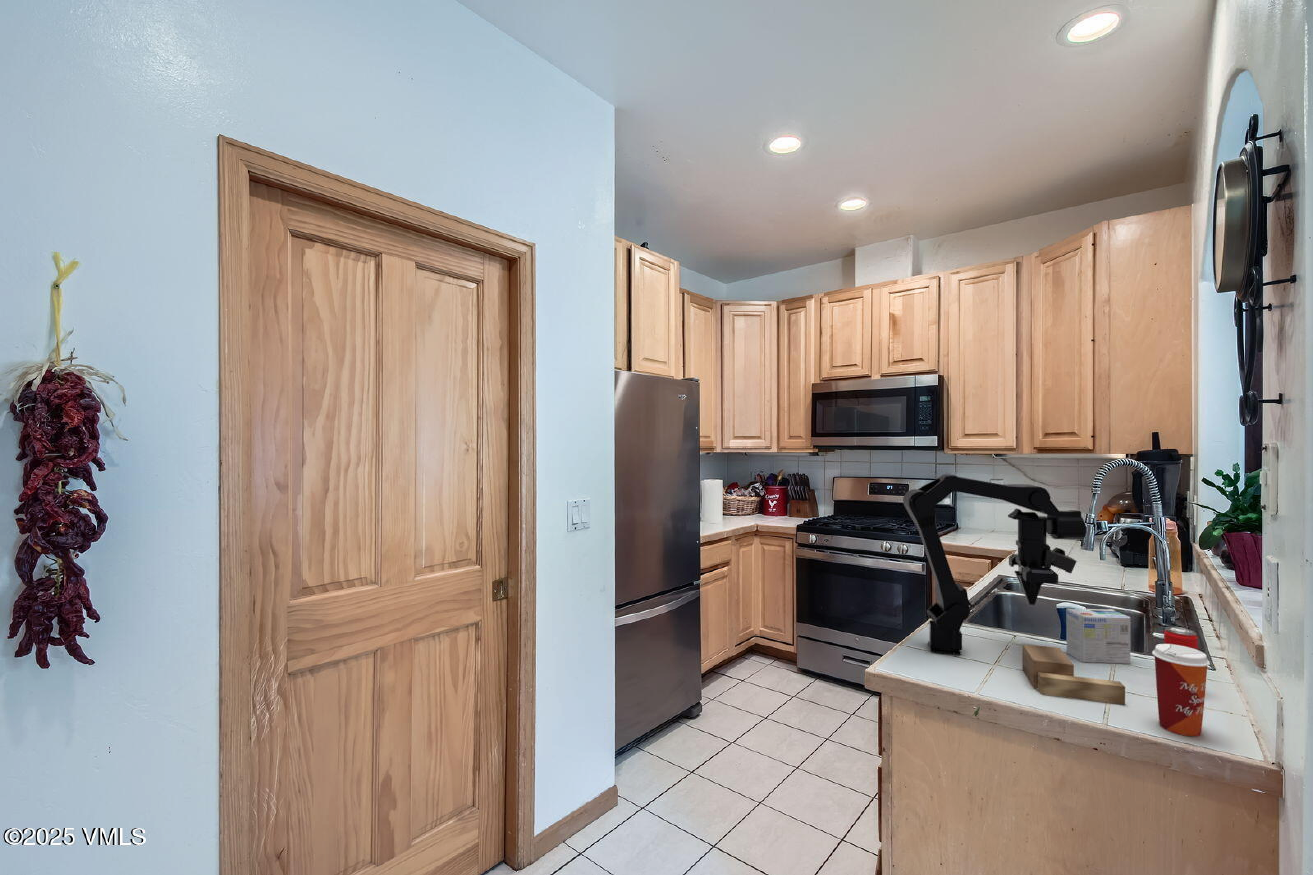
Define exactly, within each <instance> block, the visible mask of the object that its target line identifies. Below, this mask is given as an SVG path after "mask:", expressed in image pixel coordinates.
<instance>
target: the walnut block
mask: <svg viewBox="0 0 1313 875" xmlns="http://www.w3.org/2000/svg"><path fill="white" fill-rule="evenodd" d="M1021 647H1022V648H1021V649H1022V651H1021V652H1022V653H1021V654H1022V655H1021V656H1022V664H1021V665H1022V672H1023V674H1024V675H1025V676H1026V678H1027V680H1028V682H1029V684H1030V685H1031V687H1032V689H1035V690H1038V672H1042V673H1050V674H1059V675H1068V676H1075V672H1074V671H1075V665H1074V663H1073V662H1072V661H1071V659H1069V657H1068V656H1067V655H1066V654H1065V653H1064V651H1063V650H1062V649H1061V647H1054V646H1046V645H1045V646H1044V645H1035V644H1027V643H1026V644H1024V643H1022V646H1021Z"/></svg>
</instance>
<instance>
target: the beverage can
mask: <svg viewBox="0 0 1313 875" xmlns="http://www.w3.org/2000/svg"><path fill="white" fill-rule="evenodd" d="M1163 644H1170V645H1171V644H1173V645H1180V646H1185V647H1189V648H1193V649H1196V650H1198V647H1199V646H1198V645H1199V637H1198V636H1197V633H1196V631H1194V630H1191V629H1188V628H1184V627H1178V626H1168V627H1165V630H1164V632H1163Z"/></svg>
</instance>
